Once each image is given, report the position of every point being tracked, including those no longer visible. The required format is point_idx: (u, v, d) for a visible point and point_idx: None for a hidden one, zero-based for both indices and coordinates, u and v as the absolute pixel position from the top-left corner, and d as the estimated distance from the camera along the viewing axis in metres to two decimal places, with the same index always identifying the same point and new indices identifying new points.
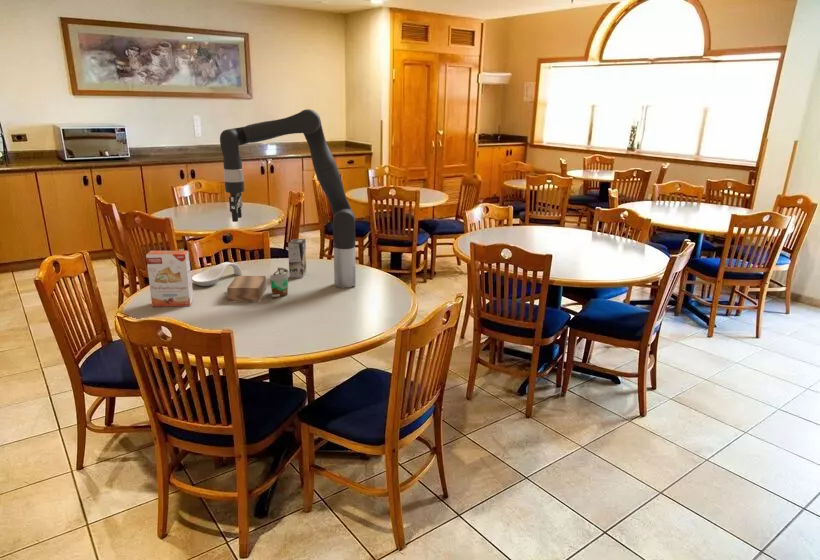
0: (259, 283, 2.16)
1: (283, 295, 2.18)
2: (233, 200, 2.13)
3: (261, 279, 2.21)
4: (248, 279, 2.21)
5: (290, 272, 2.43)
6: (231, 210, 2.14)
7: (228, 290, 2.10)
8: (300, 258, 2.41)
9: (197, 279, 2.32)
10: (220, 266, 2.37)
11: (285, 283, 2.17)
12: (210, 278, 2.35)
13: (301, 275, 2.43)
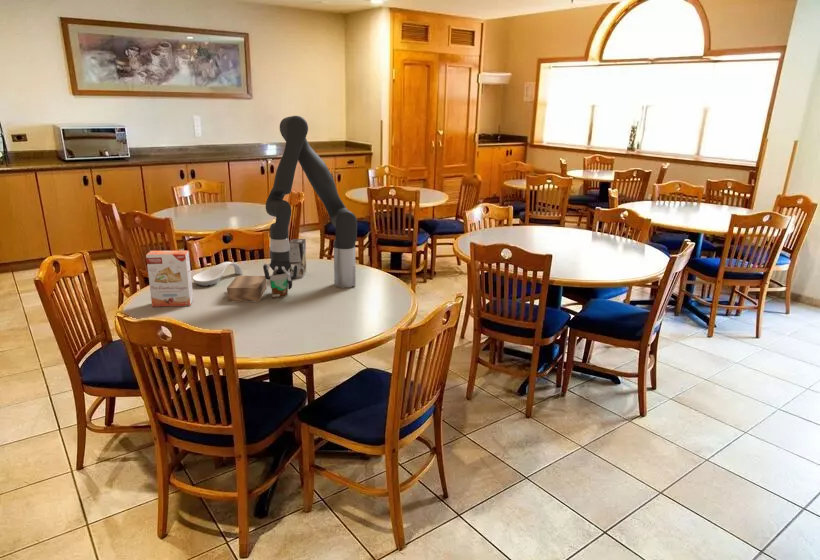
0: (259, 283, 2.16)
1: (283, 295, 2.18)
2: (297, 267, 2.18)
3: (261, 279, 2.21)
4: (248, 279, 2.21)
5: (290, 272, 2.43)
6: (295, 277, 2.18)
7: (228, 290, 2.10)
8: (300, 258, 2.41)
9: (198, 278, 2.32)
10: (221, 266, 2.38)
11: (285, 283, 2.17)
12: (211, 278, 2.35)
13: (301, 275, 2.43)
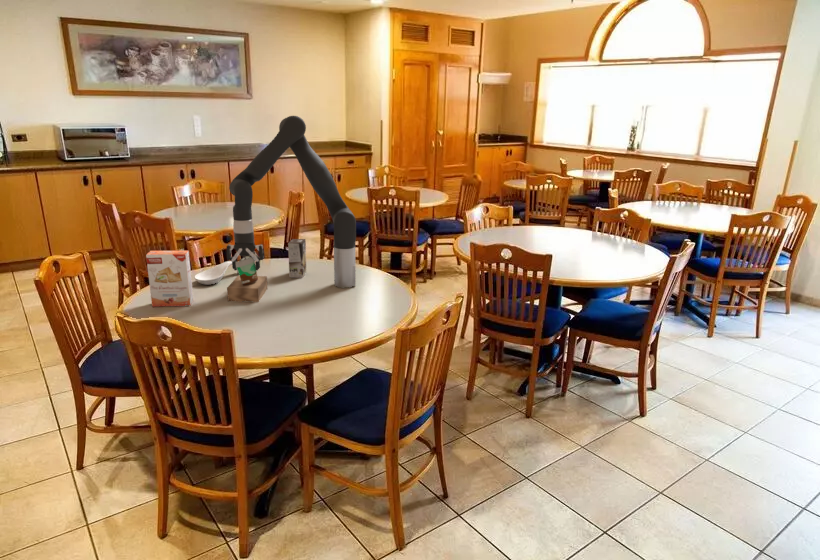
0: (259, 283, 2.16)
1: (253, 280, 2.15)
2: (262, 247, 2.15)
3: (262, 279, 2.21)
4: None
5: (290, 272, 2.43)
6: (263, 258, 2.15)
7: (228, 290, 2.11)
8: (300, 258, 2.41)
9: (200, 278, 2.33)
10: (223, 265, 2.39)
11: (252, 268, 2.14)
12: (213, 277, 2.36)
13: (301, 275, 2.43)
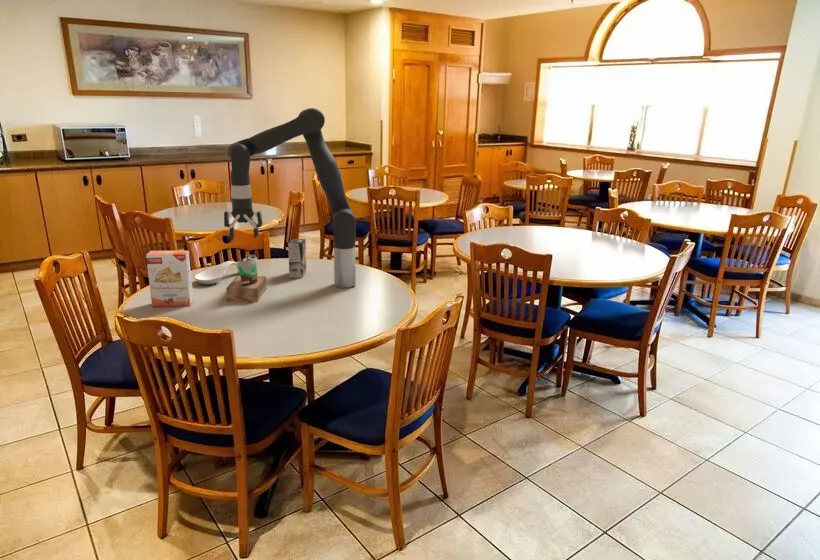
0: (258, 283, 2.16)
1: (253, 281, 2.15)
2: (260, 214, 2.11)
3: (261, 279, 2.21)
4: None
5: (290, 272, 2.43)
6: (261, 225, 2.11)
7: (227, 290, 2.11)
8: (300, 258, 2.41)
9: (200, 277, 2.34)
10: (223, 265, 2.39)
11: (254, 269, 2.14)
12: (213, 277, 2.37)
13: (301, 275, 2.43)
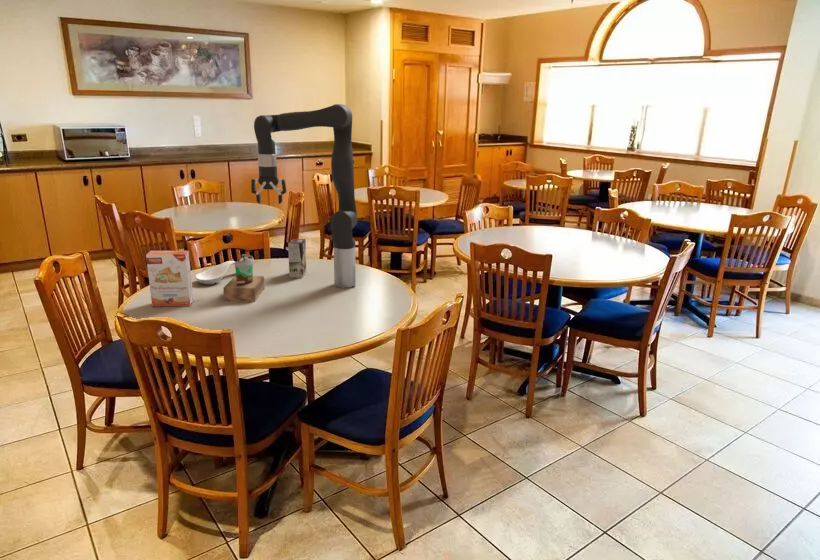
0: (256, 283, 2.16)
1: (248, 282, 2.16)
2: (285, 182, 2.28)
3: (259, 279, 2.21)
4: None
5: (290, 272, 2.43)
6: (285, 192, 2.28)
7: (224, 290, 2.11)
8: (300, 258, 2.41)
9: (201, 277, 2.34)
10: (224, 265, 2.39)
11: (250, 270, 2.15)
12: (214, 276, 2.37)
13: (301, 275, 2.43)
